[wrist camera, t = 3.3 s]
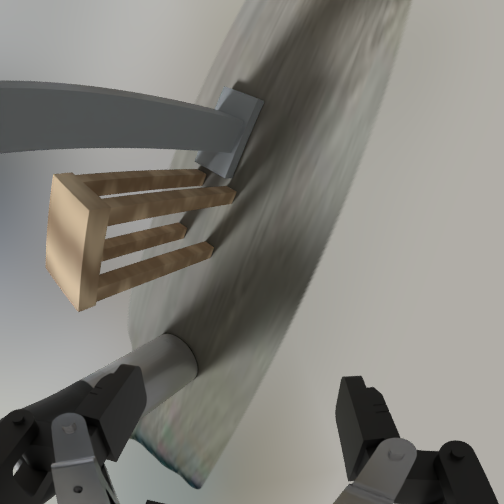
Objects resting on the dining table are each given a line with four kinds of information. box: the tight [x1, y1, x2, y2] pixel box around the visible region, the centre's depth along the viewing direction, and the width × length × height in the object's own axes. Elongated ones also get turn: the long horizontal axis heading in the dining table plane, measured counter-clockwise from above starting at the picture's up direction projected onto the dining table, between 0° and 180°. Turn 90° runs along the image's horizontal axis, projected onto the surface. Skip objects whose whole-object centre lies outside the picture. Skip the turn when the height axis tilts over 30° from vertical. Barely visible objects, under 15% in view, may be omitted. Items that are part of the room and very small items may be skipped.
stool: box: [46, 169, 236, 312], centre depth 32 cm, size 10×7×20 cm
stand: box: [0, 81, 264, 178], centre depth 22 cm, size 10×5×32 cm, turn 155°
